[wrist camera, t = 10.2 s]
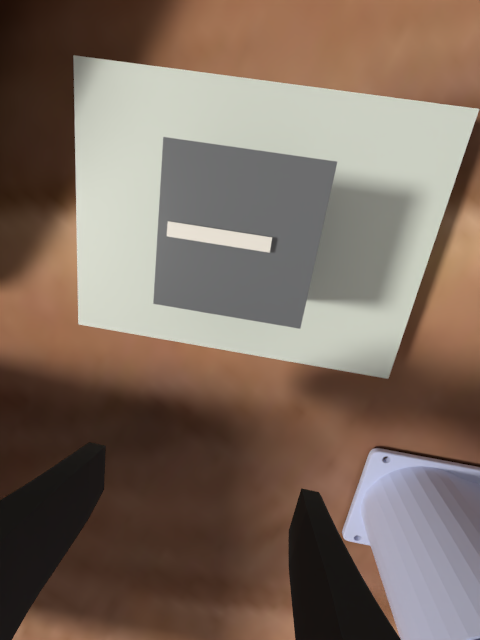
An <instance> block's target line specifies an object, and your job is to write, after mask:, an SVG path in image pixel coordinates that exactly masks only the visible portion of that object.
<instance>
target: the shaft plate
mask: <svg viewBox="0 0 480 640" xmlns="http://www.w3.org/2000/svg"><path fill="white" fill-rule="evenodd" d="M73 58H74V112H75V166H76V219H77V273H78V324H80V325H85V326H91V327H97V328H102V329H108V330H114V331H119V332H125V333H131V334H136V335H142V336H148V337H153V338H159V339H165V340H171V341H176V342H182V343H188V344H193V345H199V346H205V347H210V348H216V349H222V350H227V351H233V352H239V353H244V354H250V355H256V356H261V357H267V358H273V359H278V360H284V361H290V362H295V363H301V364H307V365H312V366H318V367H324V368H330V369H335V370H341V371H347V372H352V373H358V374H364V375H369V376H375V377H381V378H386V379H388V378H389V375H390V372H391V369H392V366H393V363H394V360H395V357H396V354H397V352H398V349H399V346H400V343H401V340H402V337H403V334H404V331H405V328H406V325H407V322H408V319H409V316H410V313H411V310H412V307H413V304H414V301H415V298H416V295H417V292H418V289H419V286H420V283H421V280H422V277H423V274H424V271H425V269H426V266H427V263H428V260H429V257H430V254H431V251H432V248H433V245H434V242H435V239H436V236H437V233H438V230H439V227H440V224H441V221H442V218H443V215H444V212H445V209H446V206H447V203H448V200H449V197H450V194H451V191H452V189H453V186H454V183H455V180H456V177H457V174H458V171H459V168H460V165H461V162H462V159H463V156H464V153H465V150H466V147H467V144H468V141H469V138H470V135H471V132H472V129H473V126H474V123H475V120H476V117H477V114H478V111H479V109H476V108H468V107H460V106H453V105H445V104H438V103H430V102H423V101H415V100H407V99H400V98H392V97H385V96H377V95H370V94H362V93H355V92H347V91H339V90H332V89H324V88H317V87H309V86H302V85H294V84H287V83H279V82H271V81H264V80H256V79H249V78H241V77H234V76H226V75H218V74H211V73H203V72H196V71H188V70H181V69H173V68H166V67H158V66H150V65H143V64H135V63H128V62H120V61H113V60H105V59H98V58H90V57H82V56H75V55H73ZM163 137H168V138H175V139H182V140H189V141H196V142H203V143H210V144H217V145H224V146H231V147H238V148H245V149H252V150H259V151H266V152H273V153H280V154H287V155H294V156H301V157H308V158H315V159H322V160H329V161H336V162H337V166H336V171H335V175H334V180H333V184H332V189H331V193H330V198H329V202H328V207H327V211H326V216H325V220H324V225H323V229H322V234H321V238H320V243H319V247H318V252H317V256H316V261H315V265H314V270H313V274H312V279H311V283H310V288H309V292H308V297H307V301H306V306H305V310H304V315H303V319H302V324H301V328H300V329H299V328H293V327H287V326H281V325H275V324H269V323H263V322H257V321H251V320H246V319H240V318H234V317H228V316H222V315H216V314H210V313H204V312H198V311H193V310H187V309H181V308H175V307H169V306H163V305H157V304H153V300H154V283H155V266H156V250H157V233H158V217H159V200H160V183H161V167H162V150H163Z"/></svg>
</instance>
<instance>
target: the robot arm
mask: <svg viewBox="0 0 480 640" xmlns="http://www.w3.org/2000/svg"><path fill="white" fill-rule="evenodd" d="M105 448H106V446H104V445H99V444H95V443H88V444H86V445H85V446H83V447H82V448H80V449H79V450H77V451H76V452H74V453H73V454H71V455H70V456H68V457H67V458H66V459H64V460H63V461H61V462H60V463H58V464H57V465H55V466H54V467H52V468H51V469H49V470H48V471H46V472H45V473H43V474H42V475H40V476H38V477H37V478H35V479H34V480H32V481H31V482H29V483H28V484H26V485H25V486H23V487H21V488H20V489H18V490H17V491H15V492H13V493H12V494H10V495H8V496H7V497H5V498H3V499H2V500H0V640H12V638H13V637H14V635H15V633H16V631H17V629H18V628H19V626H20V624H21V622H22V621H23V619H24V617H25V615H26V614H27V612H28V610H29V609H30V607H31V605H32V604H33V602H34V601H35V599H36V597H37V596H38V594H39V593H40V591H41V590H42V588H43V587H44V585H45V584H46V582H47V581H48V579H49V578H50V576H51V575H52V573H53V572H54V570H55V569H56V567H57V566H58V564H59V563H60V561H61V560H62V558H63V557H64V555H65V554H66V552H67V551H68V549H69V548H70V546H71V545H72V543H73V542H74V540H75V539H76V537H77V536H78V534H79V533H80V531H81V530H82V528H83V526H84V525H85V523H86V522H87V520H88V519H89V517H90V515H91V513H92V511H93V509H94V507H95V506H96V504H97V502H98V500H99V498H100V496H101V494H102V492H103V490H104V474H105ZM386 456H388V457H387V458H385V459H383V457H386ZM342 534H343V537H344V539H345V540H347V541H350V542H355V543H360V544H365V545H370V546H371V548H372V551H373V554H374V558H375V561H376V564H377V567H378V570H379V573H380V576H381V579H382V582H383V586H384V589H385V592H386V595H387V598H388V601H389V604H390V607H391V610H392V614H393V617H394V620H395V623H396V626H397V629H398V632H399V635H400V638H401V639H400V638H399V636H398V635H397V633H396V632H395V630H394V629H393V627H392V626H391V624H390V622H389V621H388V619H387V618H386V616H385V615H384V613H383V611H382V610H381V608H380V607H379V605H378V603H377V602H376V600H375V598H374V597H373V595H372V593H371V592H370V590H369V588H368V586H367V585H366V583H365V581H364V580H363V578H362V576H361V574H360V572H359V571H358V569H357V567H356V565H355V563H354V562H353V560H352V558H351V556H350V554H349V552H348V550H347V548H346V546H345V545H344V543H343V541H342V539H341V537H340V535H339V533H338V531H337V529H336V527H335V525H334V523H333V521H332V519H331V516H330V514H329V512H328V510H327V508H326V506H325V504H324V501H323V499H322V497H321V495H320V494H319V492H315V491H310V490H306V489H301V492H300V495H299V499H298V502H297V505H296V509H295V512H294V515H293V519H292V522H291V525H290V529H289V574H290V586H291V597H292V607H293V618H294V628H295V639H296V640H480V467H476V466H471V465H466V464H460V463H455V462H450V461H444V460H439V459H434V458H428V457H423V456H418V455H412V454H407V453H402V452H396V451H391V450H386V449H380V448H375V449H372V450H371V451H370V452H369V455H368V458H367V461H366V464H365V466H364V469H363V472H362V475H361V478H360V481H359V484H358V487H357V490H356V493H355V495H354V498H353V501H352V504H351V507H350V510H349V513H348V516H347V519H346V522H345V524H344V527H343V530H342Z"/></svg>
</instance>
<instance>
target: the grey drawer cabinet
mask: <svg viewBox="0 0 480 640" xmlns="http://www.w3.org/2000/svg"><path fill="white" fill-rule="evenodd" d="M336 166H337V162H336V161H329V160H322V159H315V158H308V157H301V156H294V155H287V154H280V153H273V152H266V151H259V150H252V149H245V148H238V147H231V146H224V145H217V144H210V143H203V142H196V141H189V140H182V139H175V138H168V137H163V150H162V167H161V183H160V200H159V217H158V233H157V250H156V266H155V283H154V300H153V304H157V305H163V306H169V307H175V308H181V309H187V310H193V311H198V312H204V313H210V314H216V315H222V316H228V317H234V318H240V319H246V320H251V321H257V322H263V323H269V324H275V325H281V326H287V327H293V328H299V329H300V328H301V324H302V319H303V315H304V310H305V306H306V301H307V297H308V292H309V288H310V283H311V279H312V274H313V270H314V265H315V261H316V256H317V252H318V247H319V243H320V238H321V234H322V229H323V225H324V220H325V216H326V211H327V207H328V202H329V198H330V193H331V189H332V184H333V180H334V175H335V171H336Z"/></svg>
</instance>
